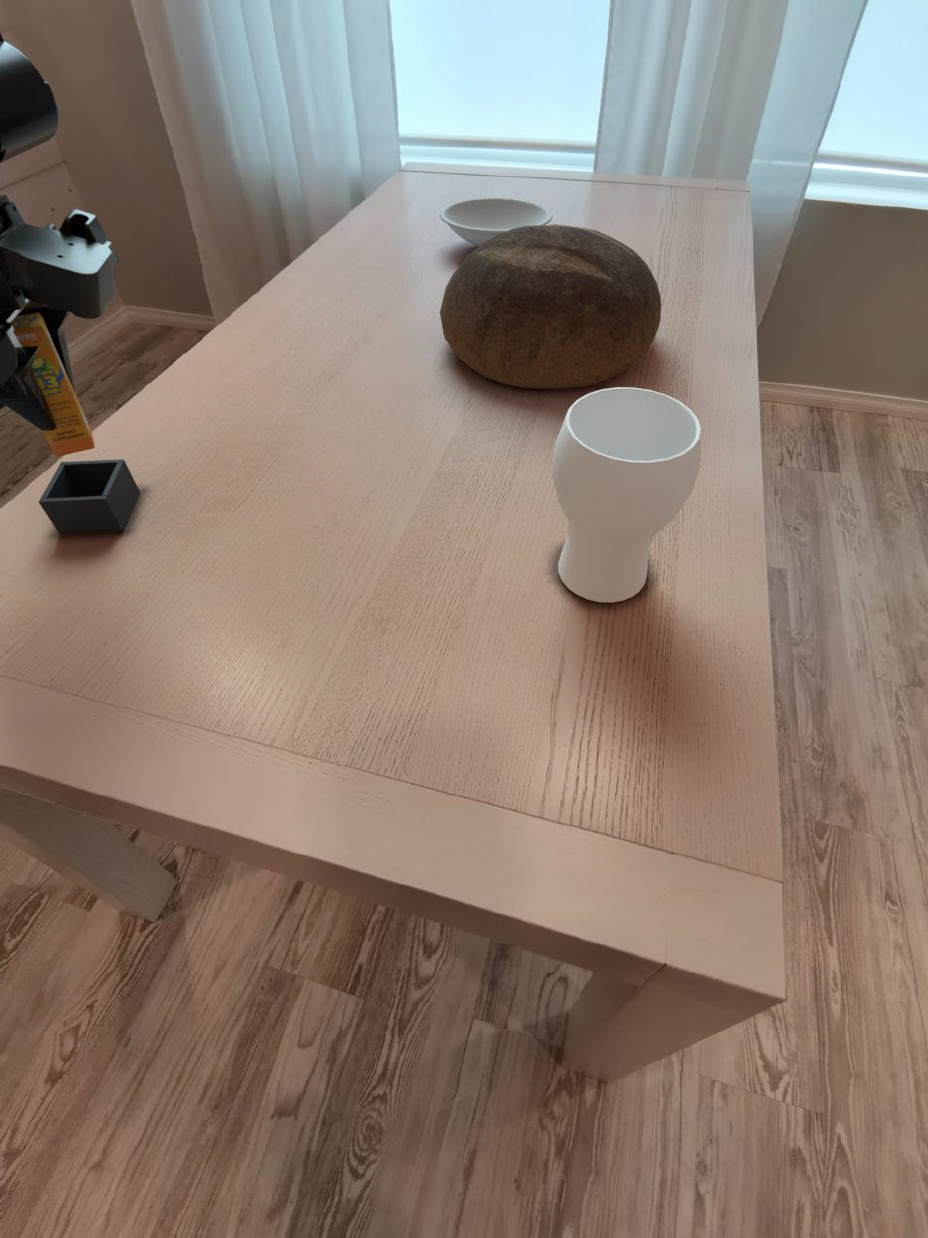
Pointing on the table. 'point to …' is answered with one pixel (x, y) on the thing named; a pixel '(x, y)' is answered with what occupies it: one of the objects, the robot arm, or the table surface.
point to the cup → (621, 485)
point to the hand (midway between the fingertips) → (59, 413)
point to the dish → (492, 217)
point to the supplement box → (55, 388)
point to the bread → (551, 307)
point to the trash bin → (90, 497)
